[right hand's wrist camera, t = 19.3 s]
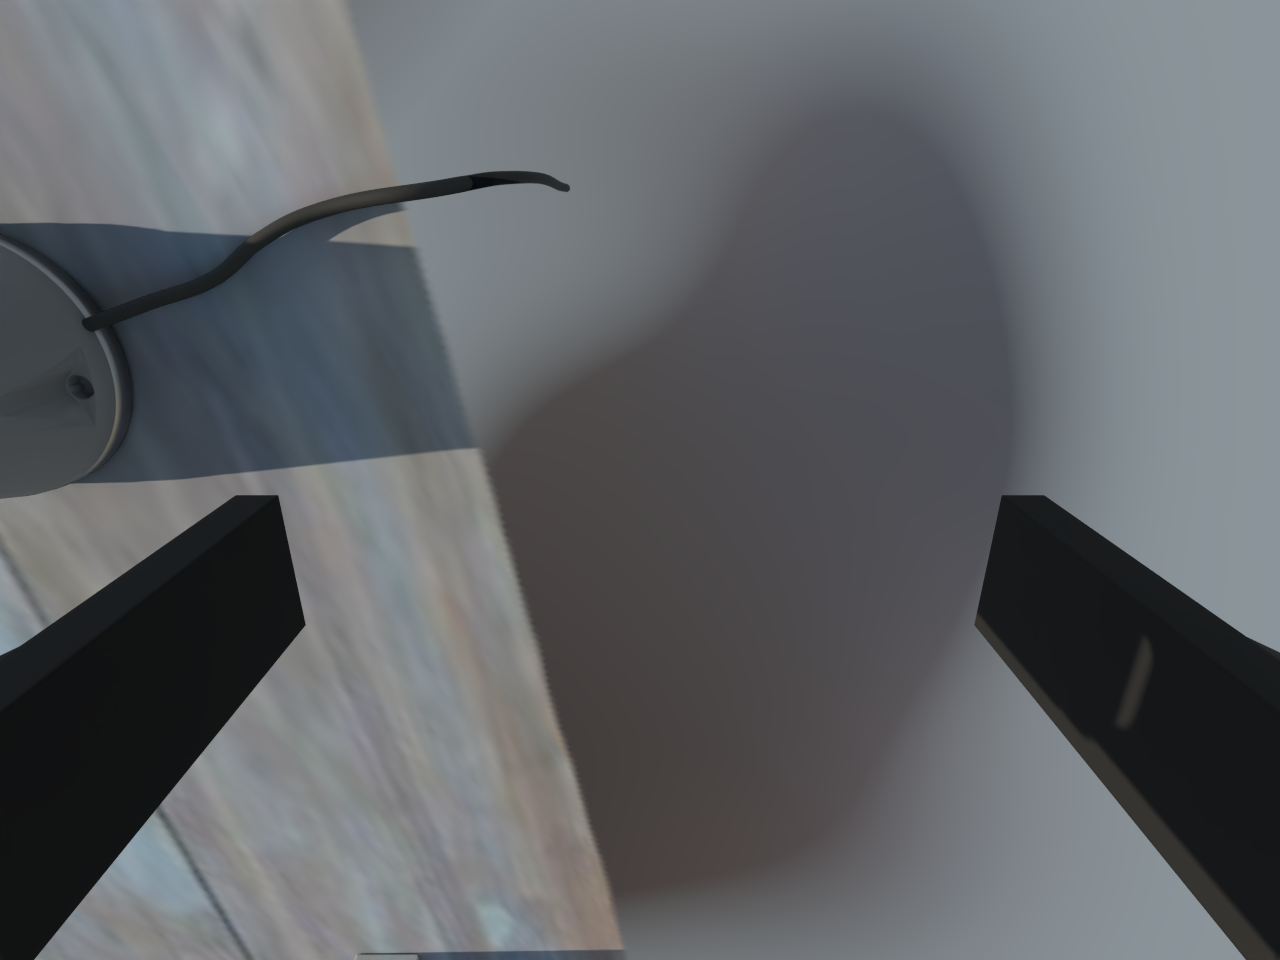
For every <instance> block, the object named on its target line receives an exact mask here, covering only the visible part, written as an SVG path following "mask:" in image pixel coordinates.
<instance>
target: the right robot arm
mask: <svg viewBox="0 0 1280 960" xmlns="http://www.w3.org/2000/svg"><path fill="white" fill-rule="evenodd" d="M525 183H533V184H543V185H547V186H549V187H552V188H554V189H556V190H558V191H563V192H568V191H569V190H570V186H569V185H568V184H565V183H562V182H560V181H558V180H557V179H555V178H554V177H552V176H550V175H547V174H544V173H539V172H531V171H492V172H484V173H477V174H472V175H466V176H460V177H454V178H448V179H443V180H436V181H431V182H424V183H417V184H410V185H402V186H395V187H388V188H381V189H375V190H369V191H363V192H358V193H353V194H349V195H344V196H340V197H336V198H333V199H329V200H326V201H322V202H319V203H316V204H313V205H310V206H307V207H304V208H302V209H299V210H297V211H294V212H292V213H290V214H288V215H286V216H284V217H282V218H280V219H278V220H276V221H274V222H273V223H271V224H269V225H268V226H266V227H265V228H263V229H261V230H260V231H258V232H257V233H255V234H254V235H253V236H251V237H250V238H249V239H247V240H246V241H245V242H244V243H243V244H241V245H240V246H239V247H238V248H237V249H236V250H235V251H234V252H233V253H232V254H231V255H230V256H229V257H228V258H227V259H226V260H225V261H224V262H223V263H222V264H221V265H220V266H218V267H217V268H215V269H214V270H212V271H211V272H209V273H207V274H205V275H203V276H201V277H199V278H197V279H195V280H192V281H189V282H187V283H184V284H181V285H178V286H174V287H171V288H168V289H165V290H161V291H158V292H155V293H152V294H149V295H146V296H143V297H141V298H138V299H135V300H133V301H130V302H127V303H125V304H122V305H119V306H117V307H114V308H111V309H109V310H106V311H103V312H101V310H100V309H99V308H98V306H97V305H96V304H95V302H94V301H93V300H92V299H91V298H90V296H89V295H88V294H87V293H86V292H85V291H84V290H83V289H82V288H81V287H80V286H79V285H78V284H77V283H76V282H75V281H74V280H73V279H72V278H71V277H70V276H69V275H68V274H67V273H65V272H64V271H63V270H62V269H61V268H59V267H58V266H57V265H55V264H54V263H53V262H51V261H50V260H49V259H47V258H46V257H44V256H42V255H41V254H39V253H38V252H36V251H35V250H33V249H31V248H29V247H27V246H25V245H24V244H22V243H19V242H17V241H15V240H13V239H11V238H8V237H6V236H3V235H0V499H3V498H12V497H22V496H30V495H35V494H39V493H43V492H46V491H50V490H54V489H57V488H60V487H63V486H65V485H68V484H70V483H72V482H74V481H76V480H78V479H80V478H82V477H84V476H86V475H88V474H90V473H92V472H94V471H95V470H97V469H98V468H100V467H101V466H102V465H103V464H104V463H106V462H107V461H108V460H109V459H110V458H111V456H112V455H113V454H114V453H115V452H116V450H117V449H118V447H119V446H120V444H121V442H122V440H123V438H124V436H125V434H126V431H127V428H128V425H129V421H130V416H131V409H132V387H131V379H130V374H129V370H128V365H127V362H126V359H125V356H124V353H123V350H122V348H121V346H120V343H119V341H118V339H117V337H116V335H115V333H114V331H113V329H112V327H111V326H110V325H112V324H115V323H117V322H120V321H123V320H126V319H128V318H131V317H134V316H136V315H139V314H142V313H144V312H147V311H150V310H152V309H155V308H158V307H161V306H164V305H167V304H170V303H174V302H177V301H180V300H184V299H187V298H190V297H193V296H196V295H198V294H201V293H203V292H205V291H208V290H210V289H212V288H214V287H216V286H217V285H219V284H221V283H222V282H224V281H226V280H227V279H228V278H230V277H231V276H232V275H233V274H234V273H236V272H237V271H238V270H239V269H240V268H241V267H242V266H243V265H244V264H245V263H246V262H247V261H248V260H249V259H250V258H251V257H252V256H253V255H254V254H255V253H256V252H258V251H259V250H260V249H262V248H263V247H265V246H266V245H268V244H269V243H271V242H272V241H274V240H276V239H277V238H279V237H280V236H282V235H284V234H286V233H288V232H289V231H291V230H293V229H295V228H298V227H300V226H302V225H305V224H307V223H310V222H313V221H316V220H319V219H322V218H325V217H328V216H331V215H335V214H338V213H342V212H346V211H351V210H355V209H360V208H365V207H371V206H377V205H384V204H391V203H398V202H405V201H412V200H419V199H426V198H432V197H439V196H444V195H450V194H455V193H461V192H466V191H471V190H476V189H481V188H485V187H491V186H497V185H507V184H525ZM304 626H305V620H304V615H303V611H302V606H301V601H300V596H299V592H298V587H297V582H296V578H295V573H294V568H293V563H292V559H291V554H290V549H289V545H288V540H287V535H286V530H285V526H284V521H283V516H282V512H281V507H280V502H279V497H278V495H236V496H234V497H233V498H231V499H230V500H229V501H227V502H226V503H224V504H223V505H221V506H220V507H219V508H217V509H216V510H214V511H213V512H211V513H210V514H209V515H207V516H206V517H204V518H203V519H201V520H200V521H199V522H197V523H196V524H194V525H193V526H191V527H190V528H189V529H187V530H186V531H184V532H183V533H181V534H180V535H179V536H177V537H176V538H174V539H173V540H171V541H170V542H169V543H167V544H166V545H164V546H163V547H161V548H160V549H159V550H157V551H156V552H154V553H153V554H151V555H150V556H149V557H147V558H146V559H144V560H143V561H141V562H140V563H139V564H137V565H136V566H134V567H133V568H131V569H130V570H128V571H127V572H126V573H124V574H123V575H121V576H120V577H118V578H117V579H116V580H114V581H113V582H111V583H110V584H108V585H107V586H106V587H104V588H103V589H101V590H100V591H98V592H97V593H96V594H94V595H93V596H91V597H90V598H88V599H87V600H86V601H84V602H83V603H81V604H80V605H78V606H77V607H76V608H74V609H73V610H71V611H70V612H68V613H67V614H66V615H64V616H63V617H61V618H60V619H58V620H57V621H56V622H54V623H53V624H51V625H50V626H48V627H47V628H46V629H44V630H43V631H41V632H40V633H38V634H37V635H36V636H34V637H33V638H31V639H30V640H28V641H27V642H26V643H24V644H23V645H21V646H20V647H18V648H15V649H13V650H11V651H9V652H7V653H5V654H3V655H1V656H0V960H34V959H35V958H36V957H37V955H38V954H39V953H40V952H41V950H42V949H43V948H44V947H45V946H46V944H47V943H48V942H49V941H50V939H51V938H52V937H53V936H54V934H55V933H56V932H57V931H58V929H59V928H60V927H61V926H62V925H63V923H64V922H65V921H66V920H67V918H68V917H69V916H70V915H71V913H72V912H73V911H74V910H75V909H76V907H77V906H78V905H79V904H80V902H81V901H82V900H83V899H84V897H85V896H86V895H87V894H88V893H89V891H90V890H91V889H92V888H93V886H94V885H95V884H96V883H97V881H98V880H99V879H100V878H101V876H102V875H103V874H104V873H105V872H106V870H107V869H108V868H109V867H110V865H111V864H112V863H113V862H114V860H115V859H116V858H117V857H118V856H119V854H120V853H121V852H122V851H123V849H124V848H125V847H126V846H127V844H128V843H129V842H130V841H131V840H132V838H133V837H134V836H135V835H136V833H137V832H138V831H139V830H140V828H141V827H142V826H143V825H144V823H145V822H146V821H147V820H148V819H149V817H150V816H151V815H152V814H153V812H154V811H155V810H156V809H157V807H158V806H159V805H160V804H161V803H162V801H163V800H164V799H165V798H166V796H167V795H168V794H169V793H170V791H171V790H172V789H173V788H174V787H175V785H176V784H177V783H178V782H179V780H180V779H181V778H182V777H183V775H184V774H185V773H186V772H187V770H188V769H189V768H190V767H191V766H192V764H193V763H194V762H195V761H196V759H197V758H198V757H199V756H200V754H201V753H202V752H203V751H204V750H205V748H206V747H207V746H208V745H209V743H210V742H211V741H212V740H213V738H214V737H215V736H216V735H217V734H218V732H219V731H220V730H221V729H222V727H223V726H224V725H225V724H226V722H227V721H228V720H229V719H230V717H231V716H232V715H233V714H234V713H235V711H236V710H237V709H238V708H239V706H240V705H241V704H242V703H243V701H244V700H245V699H246V698H247V697H248V695H249V694H250V693H251V692H252V690H253V689H254V688H255V687H256V685H257V684H258V683H259V682H260V681H261V679H262V678H263V677H264V676H265V674H266V673H267V672H268V671H269V669H270V668H271V667H272V666H273V664H274V663H275V662H276V661H277V660H278V658H279V657H280V656H281V655H282V653H283V652H284V651H285V650H286V648H287V647H288V646H289V645H290V644H291V642H292V641H293V640H294V639H295V637H296V636H297V635H298V634H299V632H300V631H301V630H302V629H303V628H304ZM975 626H976V628H977V629H978V630H979V631H980V632H981V634H982V635H983V636H984V637H985V638H986V640H987V641H988V642H989V644H990V645H991V646H992V647H993V648H994V650H995V651H996V652H997V653H998V655H999V656H1000V657H1001V658H1002V660H1003V661H1004V662H1005V663H1006V664H1007V666H1008V667H1009V668H1010V669H1011V671H1012V672H1013V673H1014V674H1015V676H1016V677H1017V678H1018V679H1019V681H1020V682H1021V683H1022V684H1023V685H1024V687H1025V688H1026V689H1027V690H1028V692H1029V693H1030V694H1031V695H1032V697H1033V698H1034V699H1035V700H1036V701H1037V703H1038V704H1039V705H1040V706H1041V708H1042V709H1043V710H1044V711H1045V712H1046V714H1047V715H1048V716H1049V717H1050V719H1051V720H1052V721H1053V722H1054V724H1055V725H1056V726H1057V727H1058V729H1059V730H1060V731H1061V732H1062V734H1063V735H1064V736H1065V737H1066V738H1067V740H1068V741H1069V742H1070V743H1071V745H1072V746H1073V747H1074V748H1075V749H1076V751H1077V752H1078V753H1079V754H1080V756H1081V757H1082V758H1083V759H1084V761H1085V762H1086V763H1087V764H1088V766H1089V767H1090V768H1091V769H1092V770H1093V772H1094V773H1095V774H1096V775H1097V777H1098V778H1099V779H1100V780H1101V782H1102V783H1103V784H1104V785H1105V786H1106V788H1107V789H1108V790H1109V791H1110V793H1111V794H1112V795H1113V796H1114V798H1115V799H1116V800H1117V801H1118V803H1119V804H1120V805H1121V806H1122V807H1123V809H1124V810H1125V811H1126V812H1127V814H1128V815H1129V816H1130V817H1131V819H1132V820H1133V821H1134V822H1135V823H1136V825H1137V826H1138V827H1139V828H1140V830H1141V831H1142V832H1143V833H1144V835H1145V836H1146V837H1147V838H1148V840H1149V841H1150V842H1151V843H1152V844H1153V846H1154V847H1155V848H1156V849H1157V851H1158V852H1159V853H1160V854H1161V856H1162V857H1163V858H1164V859H1165V860H1166V862H1167V863H1168V864H1169V865H1170V867H1171V868H1172V869H1173V870H1174V872H1175V873H1176V874H1177V875H1178V876H1179V878H1180V879H1181V880H1182V881H1183V883H1184V884H1185V885H1186V886H1187V888H1188V889H1189V890H1190V891H1191V893H1192V894H1193V895H1194V896H1195V897H1196V899H1197V900H1198V901H1199V902H1200V904H1201V905H1202V906H1203V907H1204V909H1205V910H1206V911H1207V912H1208V913H1209V915H1210V916H1211V917H1212V918H1213V920H1214V921H1215V922H1216V923H1217V925H1218V926H1219V927H1220V928H1221V929H1222V931H1223V932H1224V933H1225V934H1226V936H1227V937H1228V938H1229V939H1230V941H1231V942H1232V943H1233V944H1234V946H1235V947H1236V948H1237V949H1238V950H1239V952H1240V953H1241V954H1242V955H1243V957H1244V958H1245V959H1246V960H1280V653H1279V652H1277V651H1275V650H1273V649H1271V648H1269V647H1267V646H1265V645H1263V644H1260V643H1258V642H1256V641H1254V640H1252V639H1250V638H1248V637H1246V636H1244V635H1243V634H1242V633H1240V632H1239V631H1237V630H1236V629H1234V628H1233V627H1232V626H1230V625H1229V624H1227V623H1226V622H1224V621H1223V620H1222V619H1220V618H1219V617H1217V616H1216V615H1214V614H1213V613H1212V612H1210V611H1209V610H1207V609H1206V608H1204V607H1203V606H1202V605H1200V604H1199V603H1197V602H1196V601H1194V600H1193V599H1191V598H1190V597H1189V596H1187V595H1186V594H1184V593H1183V592H1182V591H1180V590H1179V589H1177V588H1176V587H1174V586H1173V585H1172V584H1170V583H1169V582H1167V581H1166V580H1164V579H1163V578H1161V577H1160V576H1159V575H1157V574H1156V573H1154V572H1153V571H1151V570H1150V569H1149V568H1147V567H1146V566H1144V565H1143V564H1141V563H1140V562H1139V561H1137V560H1136V559H1134V558H1133V557H1131V556H1130V555H1129V554H1127V553H1126V552H1124V551H1123V550H1121V549H1120V548H1119V547H1117V546H1116V545H1114V544H1113V543H1111V542H1110V541H1109V540H1107V539H1106V538H1104V537H1103V536H1101V535H1100V534H1099V533H1097V532H1096V531H1094V530H1093V529H1091V528H1090V527H1089V526H1087V525H1086V524H1084V523H1083V522H1081V521H1080V520H1079V519H1077V518H1076V517H1074V516H1073V515H1071V514H1070V513H1069V512H1067V511H1066V510H1064V509H1063V508H1061V507H1060V506H1059V505H1057V504H1056V503H1054V502H1053V501H1051V500H1050V499H1049V498H1047V497H1046V496H1044V495H1002V497H1001V502H1000V507H999V512H998V516H997V521H996V526H995V530H994V535H993V540H992V545H991V549H990V554H989V559H988V563H987V568H986V573H985V578H984V582H983V587H982V592H981V597H980V601H979V606H978V611H977V615H976V620H975Z"/></svg>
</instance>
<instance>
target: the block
mask: <svg viewBox="0 0 1280 960" xmlns="http://www.w3.org/2000/svg"><path fill="white" fill-rule="evenodd" d="M355 960H419V958H418V955H417V954H367V955H356V958H355Z"/></svg>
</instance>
